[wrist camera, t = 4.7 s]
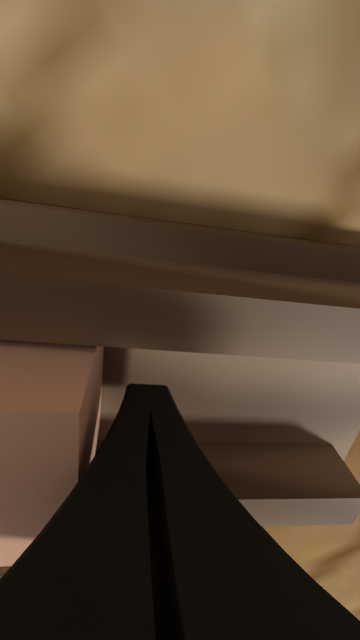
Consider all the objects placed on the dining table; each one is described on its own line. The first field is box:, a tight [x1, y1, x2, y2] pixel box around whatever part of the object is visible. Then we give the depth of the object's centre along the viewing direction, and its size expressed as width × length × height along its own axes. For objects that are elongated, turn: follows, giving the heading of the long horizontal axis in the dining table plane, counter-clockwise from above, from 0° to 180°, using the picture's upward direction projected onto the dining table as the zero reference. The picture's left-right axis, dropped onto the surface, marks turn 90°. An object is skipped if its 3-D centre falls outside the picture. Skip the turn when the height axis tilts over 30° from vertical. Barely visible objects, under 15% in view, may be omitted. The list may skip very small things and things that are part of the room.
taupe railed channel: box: [0, 199, 360, 527], centre depth 10 cm, size 14×26×4 cm, turn 82°
